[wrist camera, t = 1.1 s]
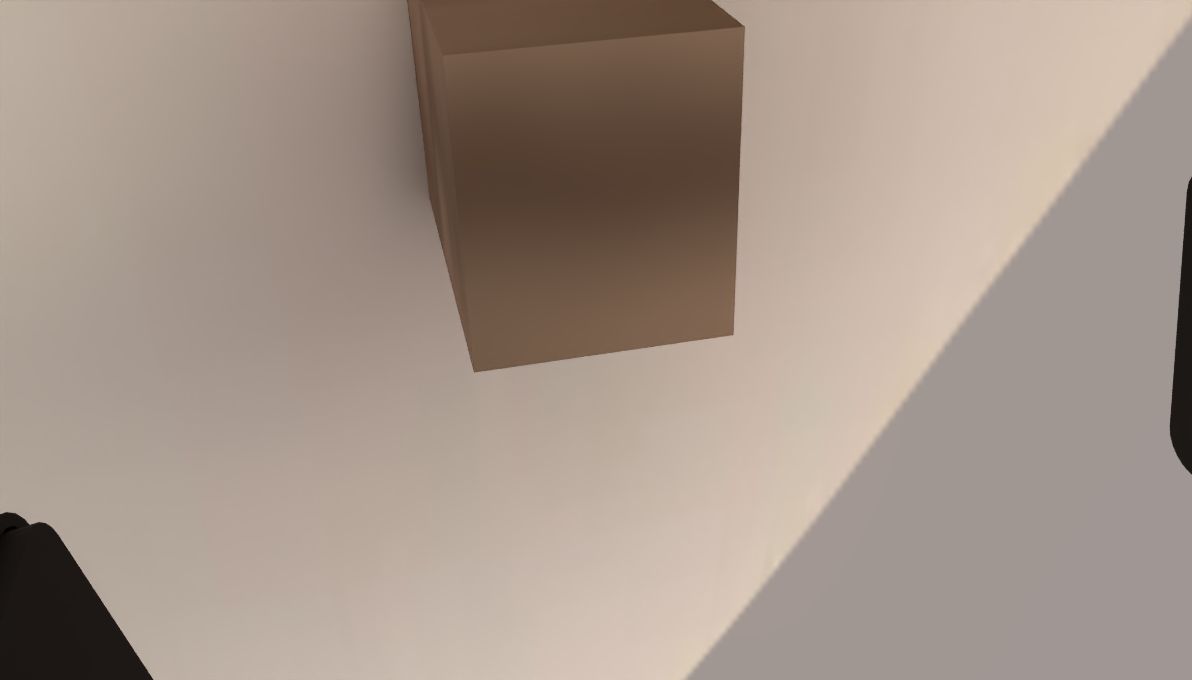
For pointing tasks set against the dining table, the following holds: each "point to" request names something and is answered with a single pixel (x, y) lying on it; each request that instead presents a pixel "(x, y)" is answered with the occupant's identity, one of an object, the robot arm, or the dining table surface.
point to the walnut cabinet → (582, 170)
